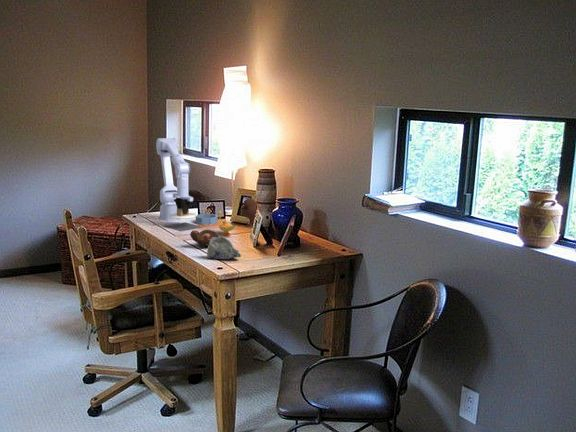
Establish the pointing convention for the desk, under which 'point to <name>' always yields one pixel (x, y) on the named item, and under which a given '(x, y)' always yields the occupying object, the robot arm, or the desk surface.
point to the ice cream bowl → (249, 210)
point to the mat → (183, 226)
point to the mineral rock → (221, 249)
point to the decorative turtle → (203, 237)
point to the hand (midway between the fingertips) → (182, 213)
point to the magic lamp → (226, 227)
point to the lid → (180, 214)
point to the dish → (206, 219)
